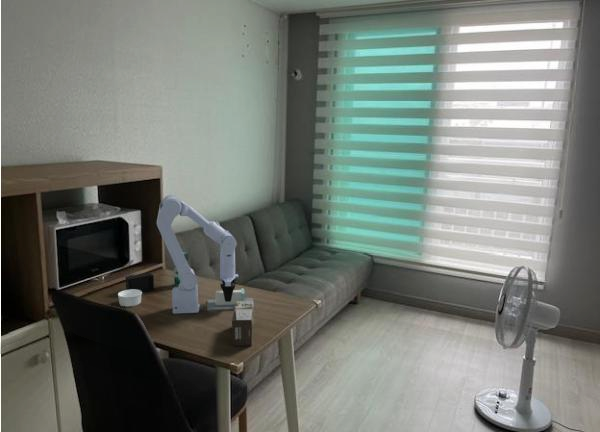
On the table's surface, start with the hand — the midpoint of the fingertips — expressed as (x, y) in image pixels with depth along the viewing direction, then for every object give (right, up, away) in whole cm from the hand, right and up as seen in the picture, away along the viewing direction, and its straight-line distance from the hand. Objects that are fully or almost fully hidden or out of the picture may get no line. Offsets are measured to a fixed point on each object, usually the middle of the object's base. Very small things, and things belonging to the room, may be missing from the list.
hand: (228, 297), depth 181 cm
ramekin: (-39, -3, 0) cm, 39 cm away
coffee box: (+9, -2, -18) cm, 20 cm away
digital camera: (-39, 0, +14) cm, 42 cm away
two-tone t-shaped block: (0, -2, 0) cm, 2 cm away
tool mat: (+1, -3, +1) cm, 3 cm away
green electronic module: (-24, +1, +22) cm, 32 cm away
